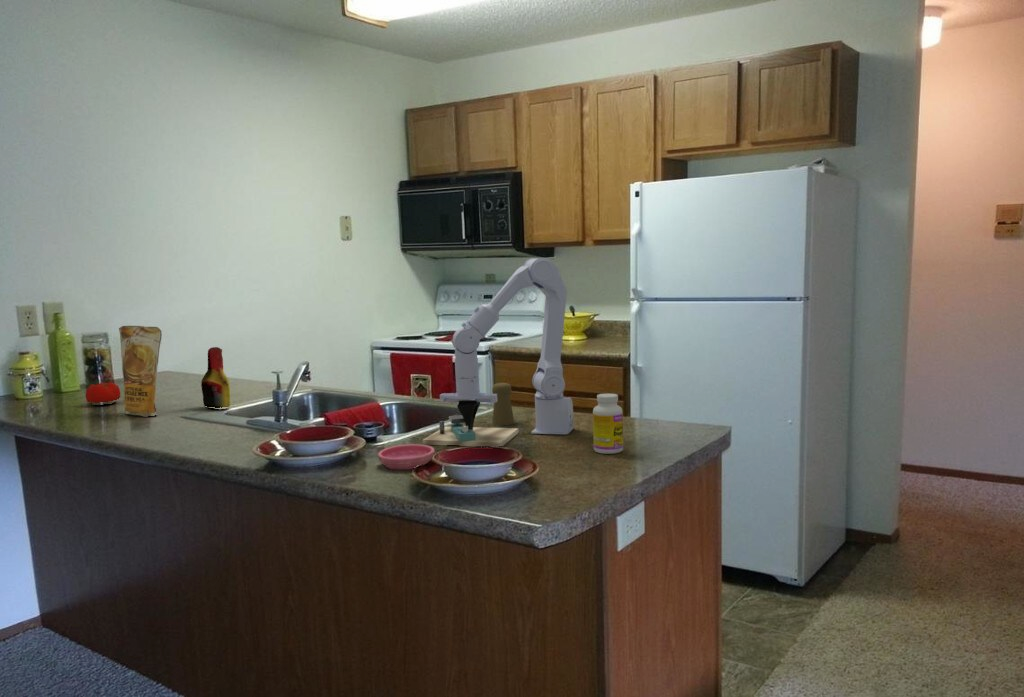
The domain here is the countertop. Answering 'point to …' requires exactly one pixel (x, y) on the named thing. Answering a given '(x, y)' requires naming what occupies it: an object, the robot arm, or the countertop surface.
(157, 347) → the pancake mix bag
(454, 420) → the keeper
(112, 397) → the tomato
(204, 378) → the bottle
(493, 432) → the base board
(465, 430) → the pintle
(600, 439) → the supplement bottle
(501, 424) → the cork
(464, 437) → the link
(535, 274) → the robot arm
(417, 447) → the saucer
